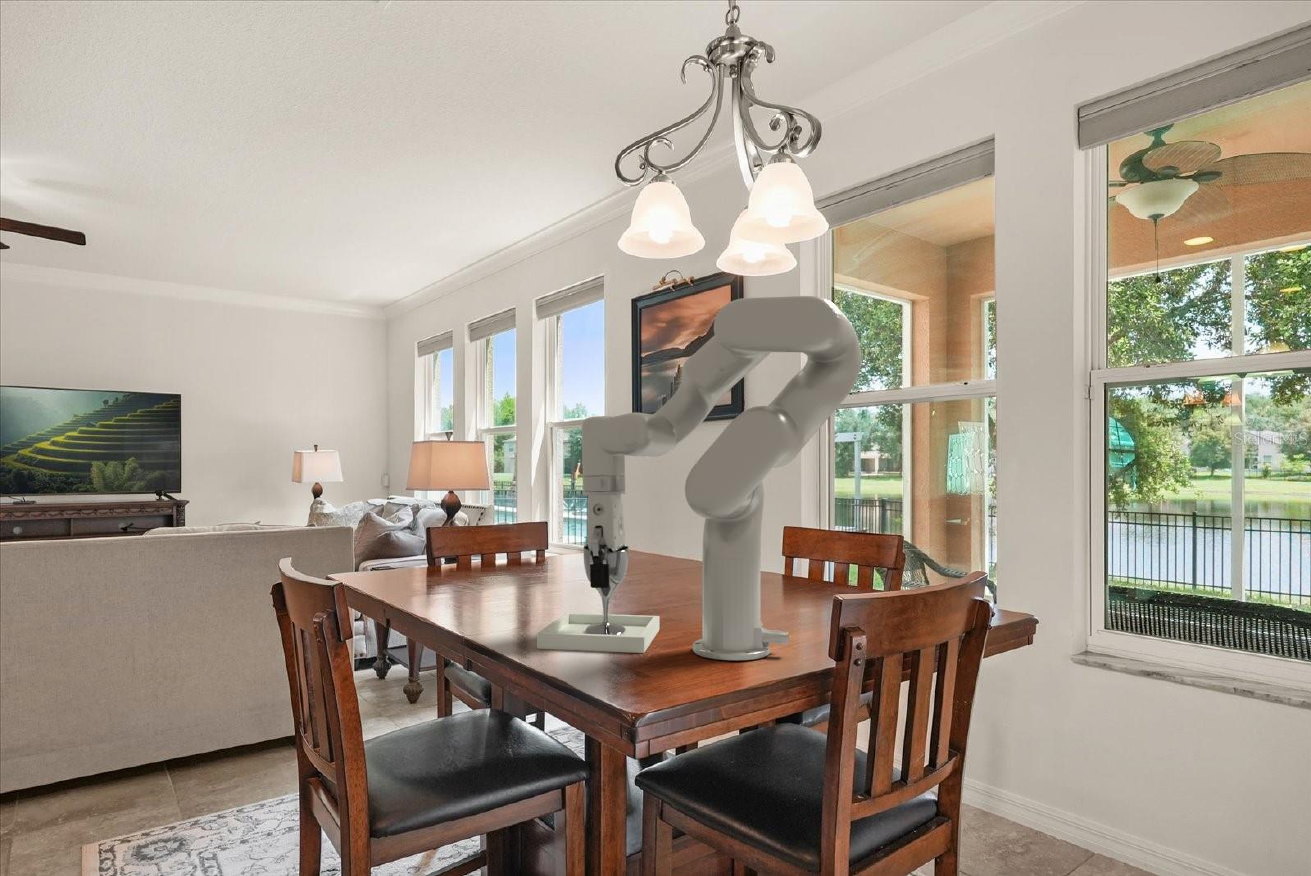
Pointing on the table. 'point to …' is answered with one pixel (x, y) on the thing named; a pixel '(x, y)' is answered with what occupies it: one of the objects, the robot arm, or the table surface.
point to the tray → (574, 637)
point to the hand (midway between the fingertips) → (606, 583)
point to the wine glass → (616, 576)
